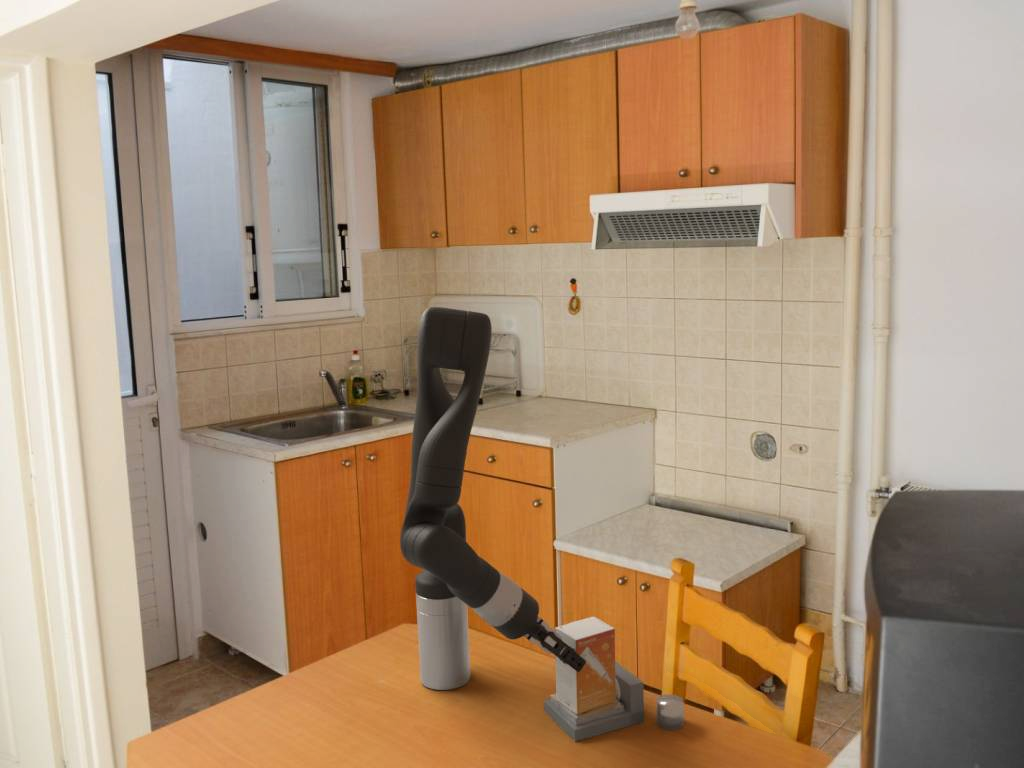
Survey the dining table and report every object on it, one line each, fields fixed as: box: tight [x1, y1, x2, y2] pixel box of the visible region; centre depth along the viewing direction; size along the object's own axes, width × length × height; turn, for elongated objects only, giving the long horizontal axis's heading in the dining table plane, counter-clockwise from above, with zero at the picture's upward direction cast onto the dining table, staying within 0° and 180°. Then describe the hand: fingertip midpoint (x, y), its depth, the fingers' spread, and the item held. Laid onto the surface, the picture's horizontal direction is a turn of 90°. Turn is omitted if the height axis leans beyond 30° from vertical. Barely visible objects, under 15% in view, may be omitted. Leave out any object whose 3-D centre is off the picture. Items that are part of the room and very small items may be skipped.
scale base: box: [543, 660, 645, 742], centre depth 158 cm, size 11×13×7 cm
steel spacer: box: [656, 694, 685, 731], centre depth 155 cm, size 4×4×4 cm
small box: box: [554, 616, 616, 714], centre depth 156 cm, size 8×6×13 cm
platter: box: [549, 693, 624, 726], centre depth 157 cm, size 9×9×1 cm
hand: (568, 656), depth 155 cm, fingers open, 8 cm apart
